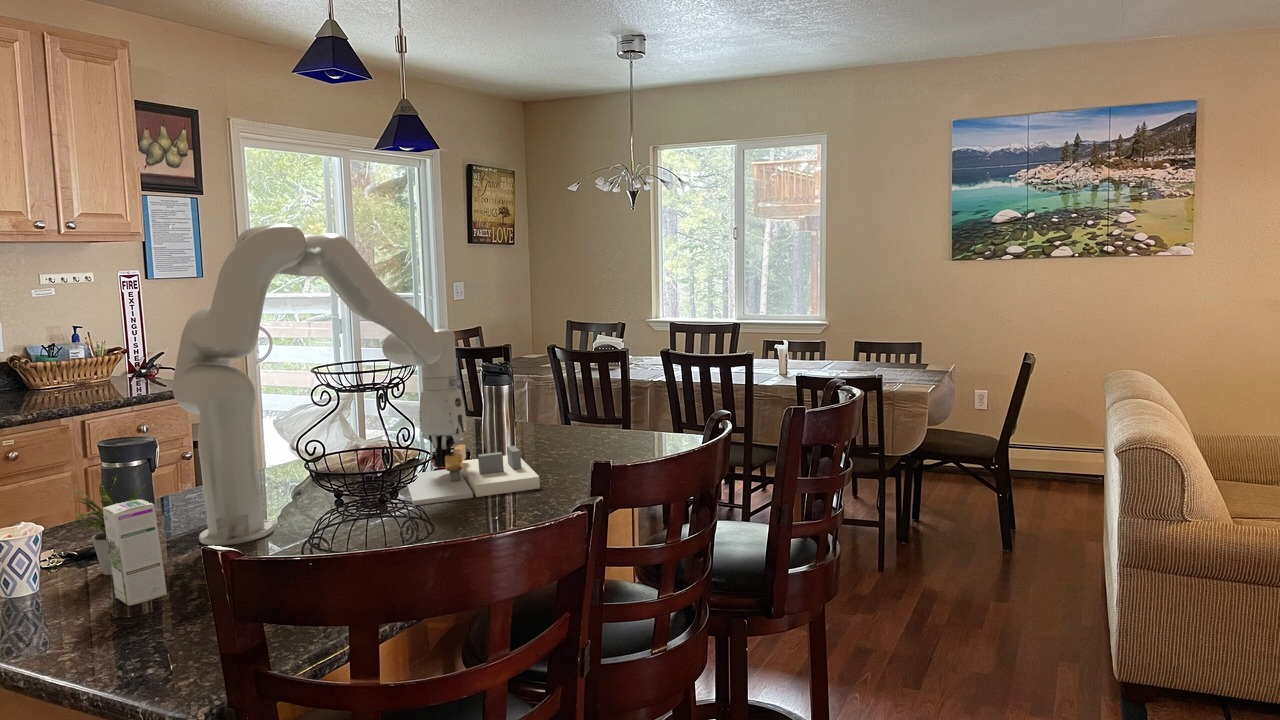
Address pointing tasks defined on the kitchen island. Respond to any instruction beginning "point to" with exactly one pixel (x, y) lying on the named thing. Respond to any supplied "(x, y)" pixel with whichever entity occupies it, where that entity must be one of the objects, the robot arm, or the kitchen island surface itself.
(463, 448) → the latch bar
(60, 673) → the kitchen island surface
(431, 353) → the robot arm
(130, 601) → the syrup box
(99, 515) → the house plant
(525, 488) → the door mock-up
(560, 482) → the kitchen island surface
